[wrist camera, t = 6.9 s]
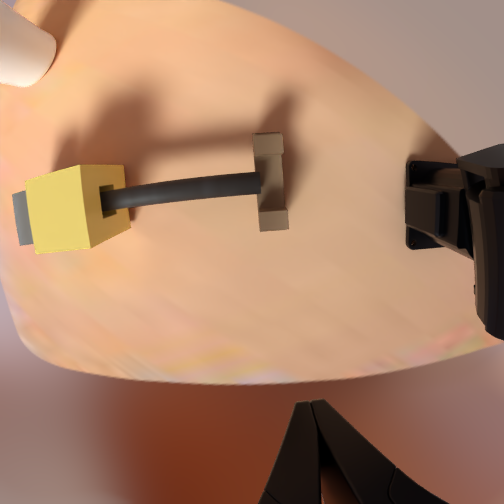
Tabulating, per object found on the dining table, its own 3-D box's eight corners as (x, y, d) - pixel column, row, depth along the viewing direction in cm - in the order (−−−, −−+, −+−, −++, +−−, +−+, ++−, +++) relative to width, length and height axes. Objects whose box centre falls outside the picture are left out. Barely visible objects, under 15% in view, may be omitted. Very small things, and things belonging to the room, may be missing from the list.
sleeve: (123, 164, 18) (79, 164, 12) (130, 227, 19) (90, 248, 13) (73, 176, 18) (24, 180, 12) (81, 234, 19) (36, 254, 13)
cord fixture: (275, 137, 18) (282, 127, 13) (281, 222, 19) (290, 236, 15) (46, 176, 18) (10, 180, 14) (56, 244, 19) (23, 259, 15)
